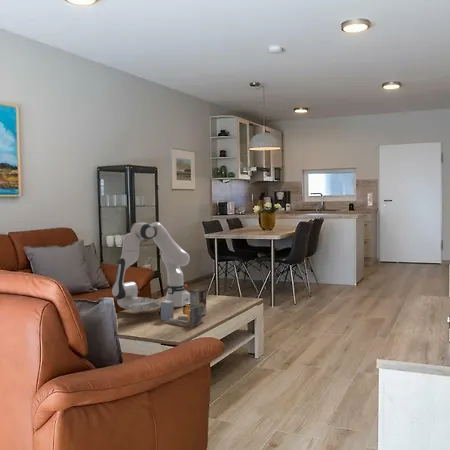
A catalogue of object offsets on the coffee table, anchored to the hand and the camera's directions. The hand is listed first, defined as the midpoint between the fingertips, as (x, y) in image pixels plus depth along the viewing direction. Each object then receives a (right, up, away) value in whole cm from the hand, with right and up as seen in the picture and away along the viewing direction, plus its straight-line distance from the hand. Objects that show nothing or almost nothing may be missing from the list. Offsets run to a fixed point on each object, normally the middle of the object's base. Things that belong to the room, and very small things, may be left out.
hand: (153, 307), depth 324 cm
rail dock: (+21, -8, -14) cm, 26 cm away
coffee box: (+28, -6, +7) cm, 29 cm away
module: (+9, -7, -6) cm, 13 cm away
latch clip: (+25, -7, -17) cm, 31 cm away
